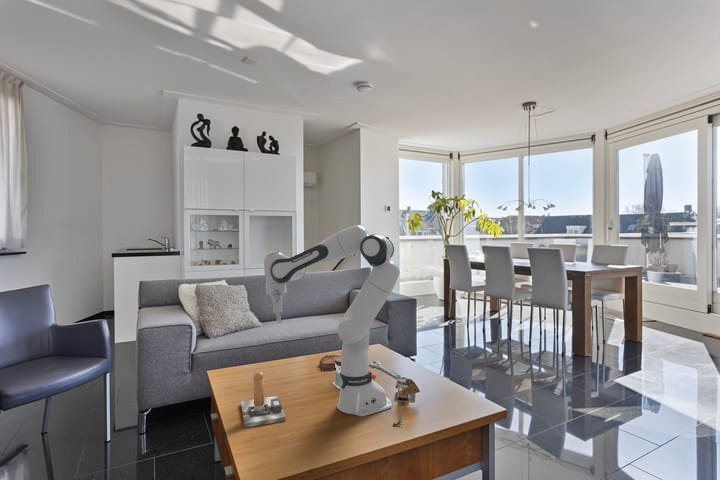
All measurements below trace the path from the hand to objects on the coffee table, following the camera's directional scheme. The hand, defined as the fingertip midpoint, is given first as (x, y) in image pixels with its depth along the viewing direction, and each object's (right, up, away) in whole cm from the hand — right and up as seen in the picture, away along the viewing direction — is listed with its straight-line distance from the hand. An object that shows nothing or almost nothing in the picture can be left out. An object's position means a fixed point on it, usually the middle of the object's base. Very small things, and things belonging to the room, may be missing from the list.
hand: (279, 321), depth 169 cm
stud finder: (+2, -31, -16) cm, 35 cm away
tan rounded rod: (-4, -31, -18) cm, 36 cm away
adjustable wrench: (+48, -33, +30) cm, 65 cm away
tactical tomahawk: (+53, -34, -17) cm, 65 cm away
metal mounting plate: (-3, -33, -16) cm, 37 cm away
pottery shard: (+21, -32, +39) cm, 54 cm away
